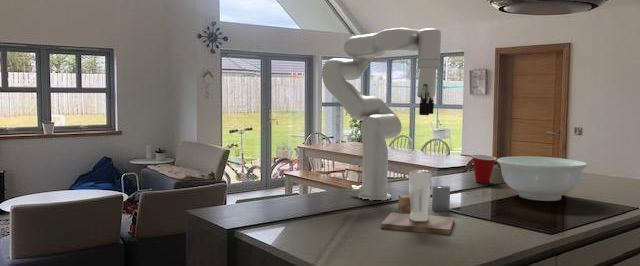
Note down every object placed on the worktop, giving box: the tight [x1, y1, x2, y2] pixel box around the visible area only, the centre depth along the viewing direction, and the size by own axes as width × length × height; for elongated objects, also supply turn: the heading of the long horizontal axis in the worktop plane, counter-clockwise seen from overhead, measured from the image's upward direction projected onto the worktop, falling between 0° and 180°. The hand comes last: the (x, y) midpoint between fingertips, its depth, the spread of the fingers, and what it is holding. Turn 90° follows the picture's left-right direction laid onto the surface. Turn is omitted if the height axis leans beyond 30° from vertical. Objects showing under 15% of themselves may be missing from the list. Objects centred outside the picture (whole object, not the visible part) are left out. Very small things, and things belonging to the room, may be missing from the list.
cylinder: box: [431, 184, 451, 213], centre depth 194 cm, size 6×6×8 cm
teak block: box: [397, 193, 411, 214], centre depth 188 cm, size 5×5×6 cm
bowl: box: [496, 155, 588, 202], centre depth 218 cm, size 32×32×15 cm
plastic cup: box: [471, 154, 498, 184], centre depth 252 cm, size 11×11×12 cm
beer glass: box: [408, 169, 433, 222], centre depth 171 cm, size 7×7×15 cm
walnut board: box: [380, 212, 455, 235], centre depth 172 cm, size 20×16×2 cm
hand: (426, 114), depth 196 cm, fingers open, 9 cm apart
